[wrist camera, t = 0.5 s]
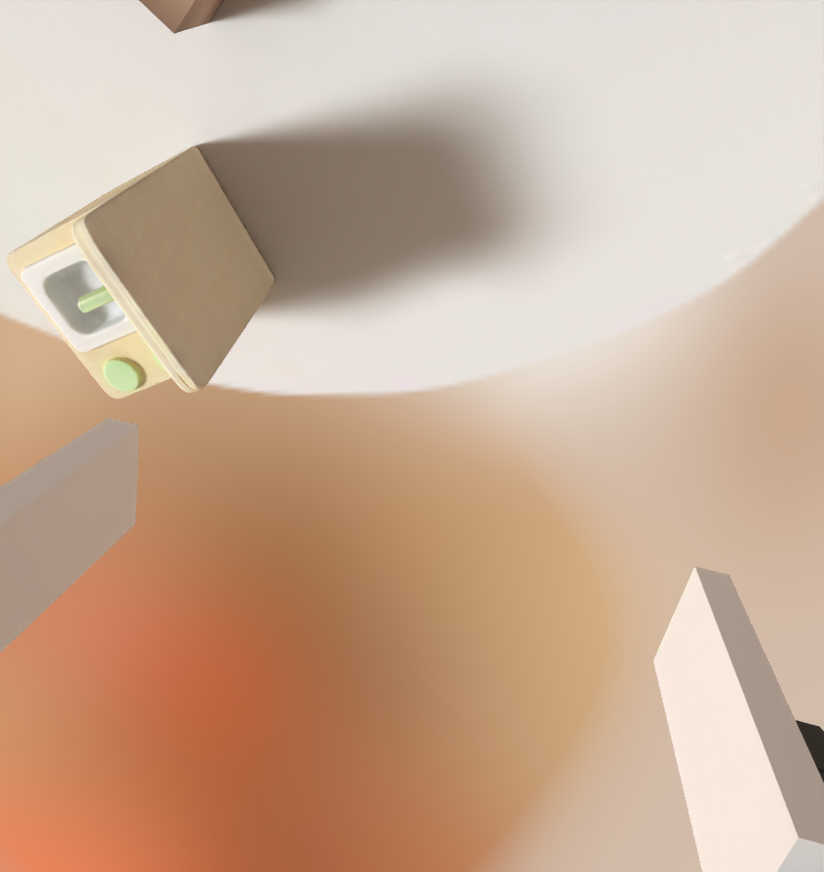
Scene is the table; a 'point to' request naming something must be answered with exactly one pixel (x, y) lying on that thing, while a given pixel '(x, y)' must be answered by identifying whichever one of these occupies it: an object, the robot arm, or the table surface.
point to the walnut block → (183, 12)
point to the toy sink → (149, 278)
